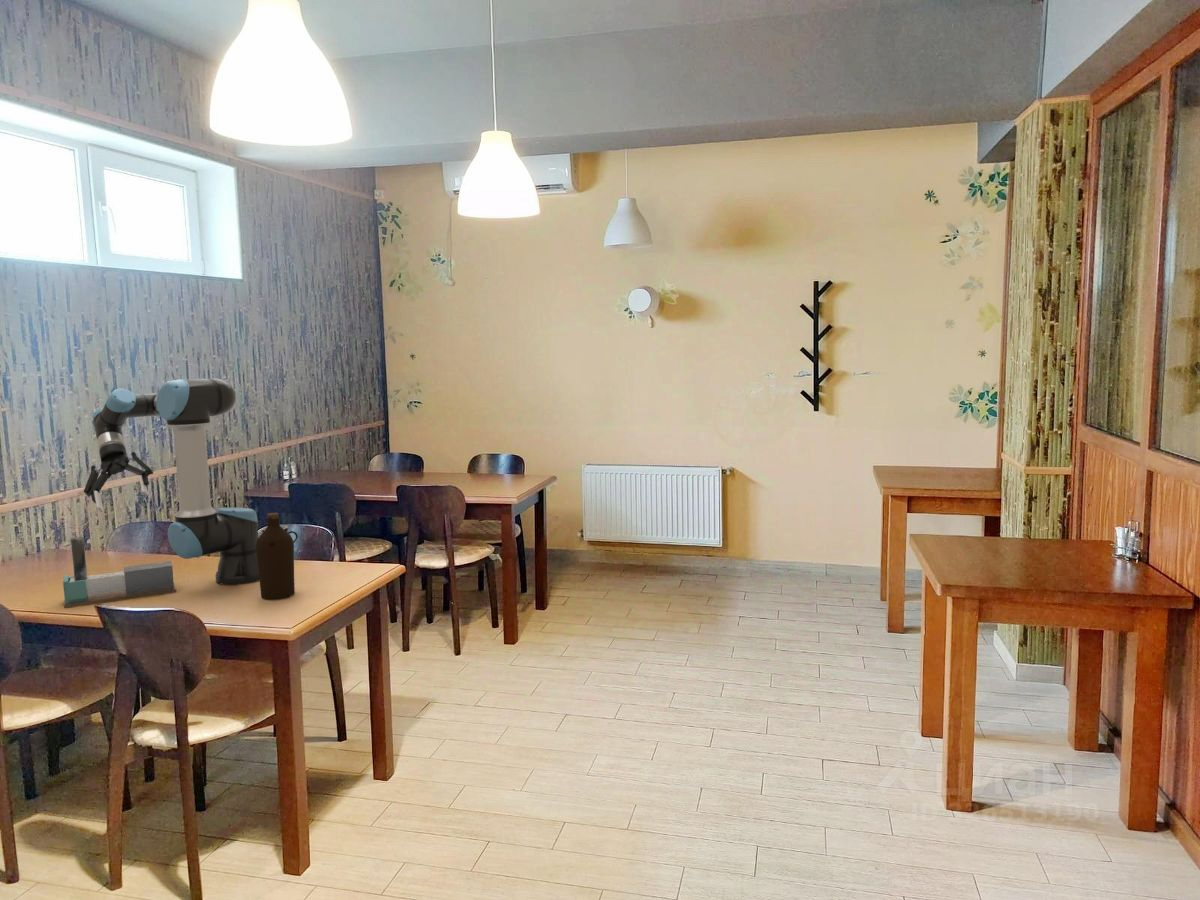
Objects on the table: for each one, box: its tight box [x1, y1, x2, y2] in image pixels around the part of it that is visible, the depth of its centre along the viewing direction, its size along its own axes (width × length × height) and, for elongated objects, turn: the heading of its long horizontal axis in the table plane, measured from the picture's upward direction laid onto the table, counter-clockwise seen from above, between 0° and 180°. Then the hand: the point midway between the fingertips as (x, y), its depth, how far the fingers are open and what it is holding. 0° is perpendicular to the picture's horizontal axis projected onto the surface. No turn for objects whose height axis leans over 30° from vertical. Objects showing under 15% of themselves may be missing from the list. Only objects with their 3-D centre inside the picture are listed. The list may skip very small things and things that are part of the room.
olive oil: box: [256, 512, 296, 601], centre depth 249 cm, size 11×11×25 cm
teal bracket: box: [62, 574, 88, 604], centre depth 247 cm, size 6×7×6 cm
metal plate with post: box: [70, 536, 126, 596], centre depth 250 cm, size 16×5×17 cm, turn 120°
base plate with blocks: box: [63, 560, 177, 609], centre depth 253 cm, size 29×10×8 cm, turn 121°
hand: (122, 501), depth 263 cm, fingers open, 13 cm apart
